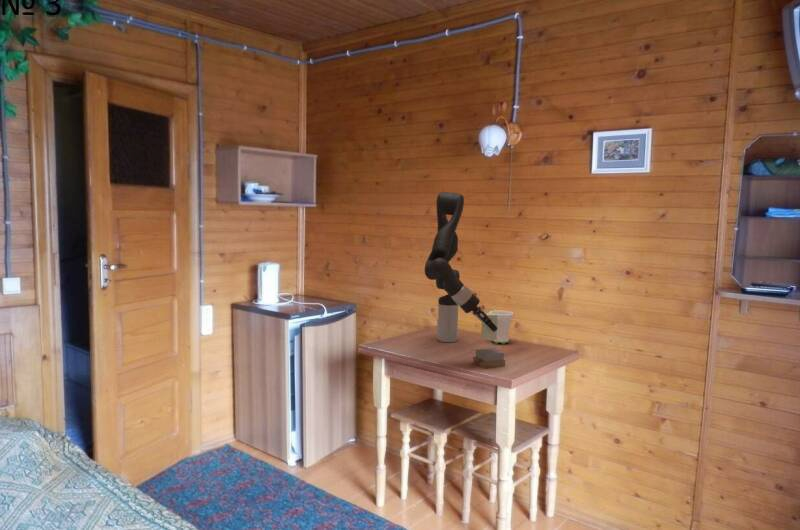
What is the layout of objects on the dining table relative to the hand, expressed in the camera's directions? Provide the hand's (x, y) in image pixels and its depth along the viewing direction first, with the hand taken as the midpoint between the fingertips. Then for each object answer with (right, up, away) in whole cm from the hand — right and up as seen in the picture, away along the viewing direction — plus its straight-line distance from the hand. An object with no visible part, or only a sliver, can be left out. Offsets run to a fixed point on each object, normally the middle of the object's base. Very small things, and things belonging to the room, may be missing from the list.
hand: (493, 328), depth 230 cm
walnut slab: (-2, -15, +1) cm, 15 cm away
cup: (+9, -11, +38) cm, 40 cm away
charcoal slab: (-2, -12, +1) cm, 12 cm away
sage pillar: (-2, -4, 0) cm, 5 cm away
